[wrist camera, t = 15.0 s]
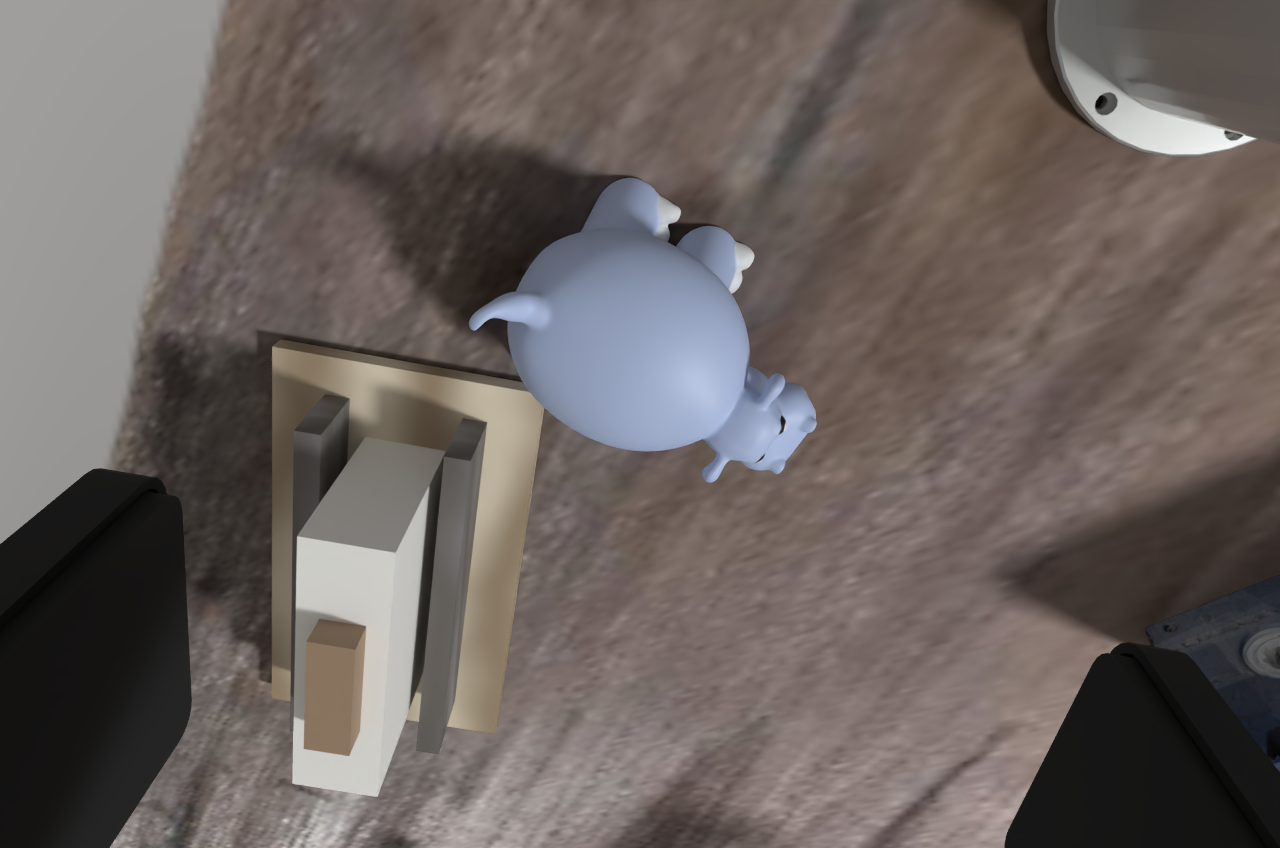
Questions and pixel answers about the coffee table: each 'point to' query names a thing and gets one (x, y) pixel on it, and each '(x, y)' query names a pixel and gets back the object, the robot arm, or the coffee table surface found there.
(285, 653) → the groove stand
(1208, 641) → the vhs cassette tape
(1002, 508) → the coffee table surface
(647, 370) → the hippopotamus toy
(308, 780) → the cabinet block
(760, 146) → the coffee table surface
